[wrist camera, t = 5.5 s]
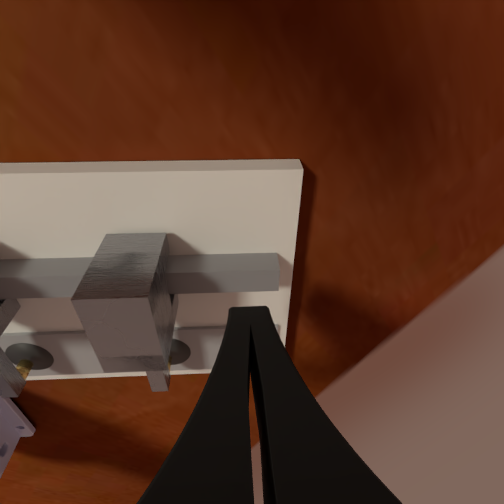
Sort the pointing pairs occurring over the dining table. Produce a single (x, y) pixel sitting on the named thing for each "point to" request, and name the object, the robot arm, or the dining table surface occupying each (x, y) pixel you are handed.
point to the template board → (145, 221)
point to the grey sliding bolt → (129, 306)
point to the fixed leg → (3, 371)
